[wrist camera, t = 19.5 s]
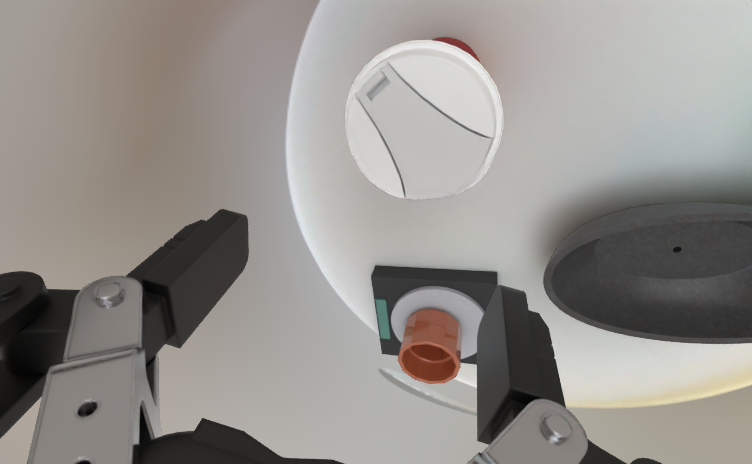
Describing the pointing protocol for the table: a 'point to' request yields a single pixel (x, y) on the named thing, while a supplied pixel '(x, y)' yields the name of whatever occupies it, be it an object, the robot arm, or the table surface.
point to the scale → (431, 301)
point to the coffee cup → (424, 119)
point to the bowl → (660, 273)
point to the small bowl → (431, 347)
